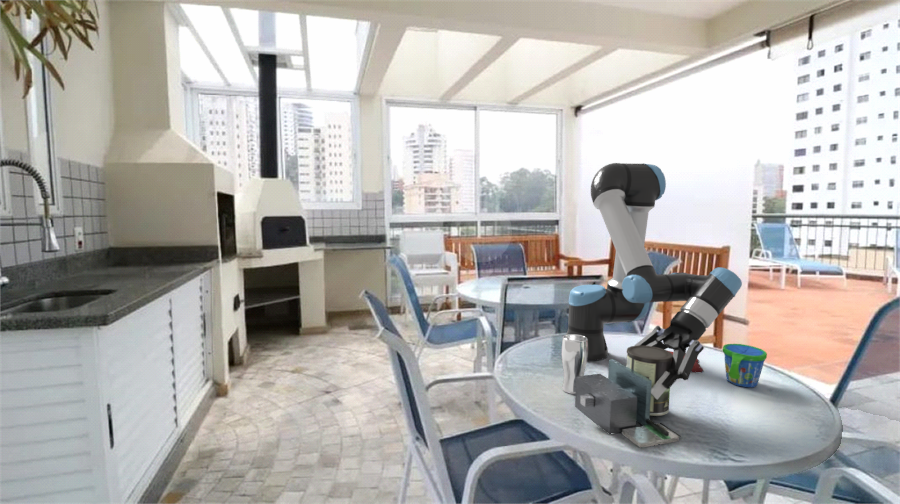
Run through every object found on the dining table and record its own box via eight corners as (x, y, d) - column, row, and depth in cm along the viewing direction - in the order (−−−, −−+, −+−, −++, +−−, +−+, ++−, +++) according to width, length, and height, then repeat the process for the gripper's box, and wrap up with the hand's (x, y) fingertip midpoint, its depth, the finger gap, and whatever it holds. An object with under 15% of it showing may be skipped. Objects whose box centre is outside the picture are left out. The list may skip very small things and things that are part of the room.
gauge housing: (575, 406, 112) (576, 376, 111) (620, 400, 116) (621, 371, 115) (628, 450, 92) (630, 414, 91) (680, 440, 96) (683, 406, 95)
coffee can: (662, 398, 113) (665, 346, 112) (674, 418, 103) (678, 360, 102) (620, 395, 116) (623, 343, 114) (628, 413, 105) (631, 357, 104)
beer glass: (555, 386, 124) (556, 335, 122) (574, 383, 126) (577, 332, 125) (571, 397, 117) (573, 342, 116) (591, 392, 120) (594, 339, 118)
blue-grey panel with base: (566, 405, 111) (568, 364, 110) (610, 399, 115) (613, 359, 114) (617, 448, 92) (620, 399, 91) (669, 439, 96) (672, 391, 94)
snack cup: (750, 396, 119) (753, 360, 117) (709, 383, 127) (711, 349, 126) (773, 383, 127) (777, 349, 126) (734, 371, 136) (736, 339, 135)
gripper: (741, 342, 101) (681, 416, 98) (666, 317, 122) (616, 377, 120) (724, 322, 99) (663, 397, 96) (652, 300, 120) (600, 361, 118)
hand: (637, 386), depth 108 cm, fingers closed on coffee can, 10 cm apart
